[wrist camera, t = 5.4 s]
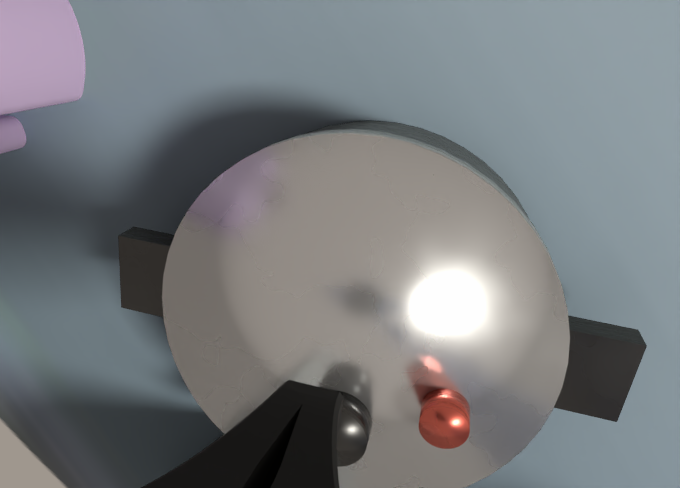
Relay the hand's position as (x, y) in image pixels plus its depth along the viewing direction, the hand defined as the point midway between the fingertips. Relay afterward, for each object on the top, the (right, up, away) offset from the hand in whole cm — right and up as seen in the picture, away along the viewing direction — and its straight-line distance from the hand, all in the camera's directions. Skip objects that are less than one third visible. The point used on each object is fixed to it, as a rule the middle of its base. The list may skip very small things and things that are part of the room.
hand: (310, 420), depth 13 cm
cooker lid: (+1, +1, +6) cm, 6 cm away
